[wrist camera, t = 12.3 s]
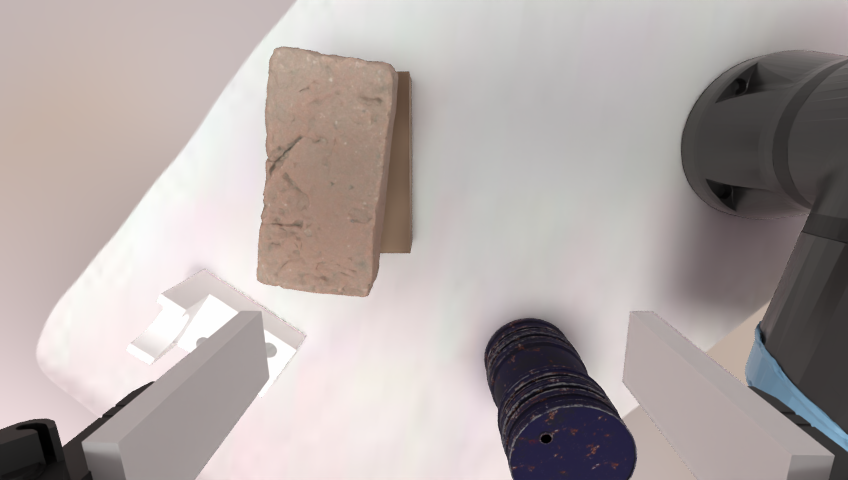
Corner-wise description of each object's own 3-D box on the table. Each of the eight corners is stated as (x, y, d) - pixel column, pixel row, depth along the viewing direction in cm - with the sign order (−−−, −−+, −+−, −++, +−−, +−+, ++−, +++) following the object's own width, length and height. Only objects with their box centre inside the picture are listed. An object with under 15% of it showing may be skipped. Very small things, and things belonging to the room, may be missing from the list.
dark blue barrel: (590, 355, 45) (666, 457, 30) (527, 411, 47) (570, 533, 32) (526, 299, 43) (574, 378, 29) (465, 360, 45) (480, 463, 31)
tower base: (411, 80, 39) (408, 71, 34) (412, 240, 43) (410, 253, 38) (288, 80, 39) (268, 71, 34) (300, 239, 43) (283, 252, 38)
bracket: (175, 316, 45) (125, 350, 37) (206, 268, 43) (160, 293, 36) (274, 378, 46) (244, 423, 39) (306, 334, 45) (282, 371, 38)
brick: (288, 53, 29) (262, 37, 25) (402, 69, 29) (397, 56, 25) (278, 268, 33) (253, 288, 29) (378, 281, 33) (370, 304, 29)
